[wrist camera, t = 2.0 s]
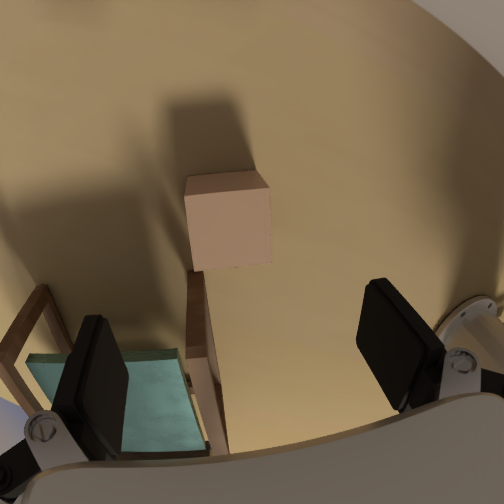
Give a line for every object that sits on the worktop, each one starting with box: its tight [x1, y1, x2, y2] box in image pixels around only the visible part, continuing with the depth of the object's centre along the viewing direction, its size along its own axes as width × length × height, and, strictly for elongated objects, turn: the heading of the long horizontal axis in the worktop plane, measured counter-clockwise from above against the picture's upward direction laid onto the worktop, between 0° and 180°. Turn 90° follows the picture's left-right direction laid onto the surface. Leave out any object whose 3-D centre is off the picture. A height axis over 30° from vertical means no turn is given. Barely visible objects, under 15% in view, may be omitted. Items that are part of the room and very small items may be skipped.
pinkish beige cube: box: [184, 170, 272, 272], centre depth 22 cm, size 5×5×5 cm
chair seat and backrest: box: [25, 348, 214, 461], centre depth 23 cm, size 12×20×4 cm, turn 3°
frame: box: [0, 270, 230, 456], centre depth 24 cm, size 16×14×10 cm
